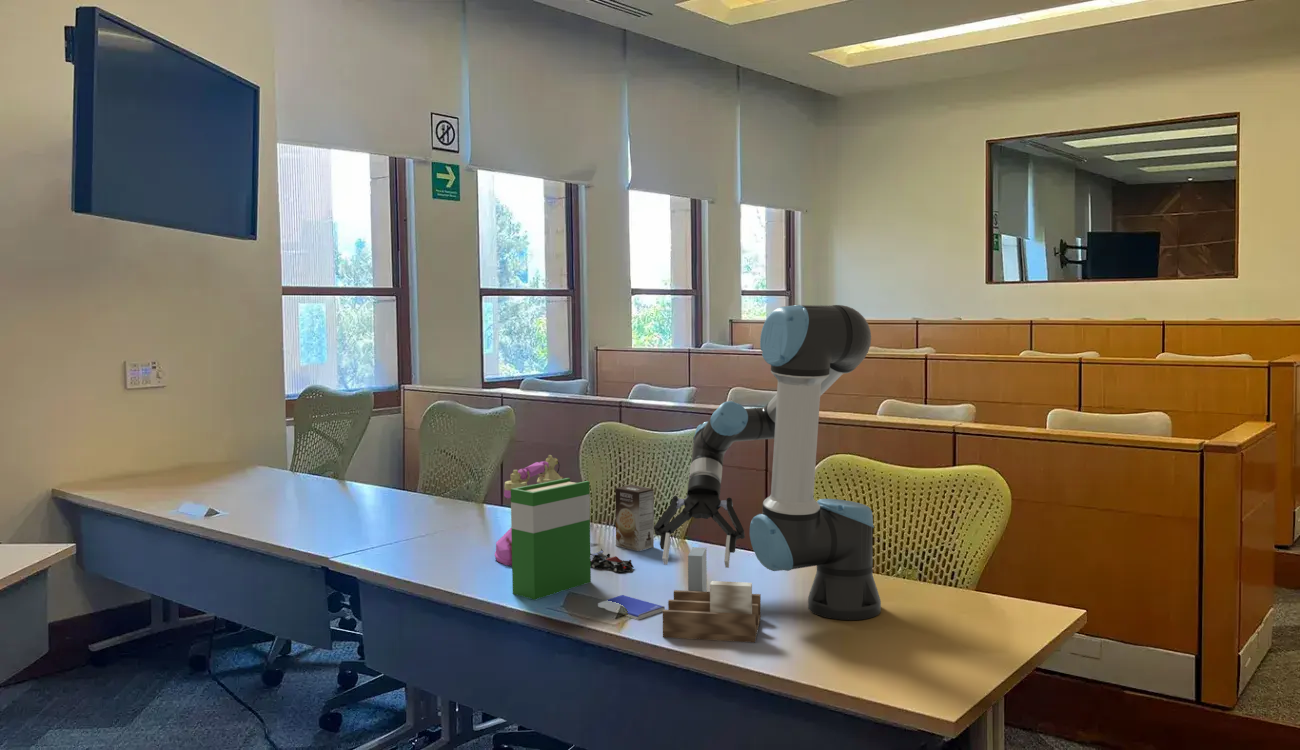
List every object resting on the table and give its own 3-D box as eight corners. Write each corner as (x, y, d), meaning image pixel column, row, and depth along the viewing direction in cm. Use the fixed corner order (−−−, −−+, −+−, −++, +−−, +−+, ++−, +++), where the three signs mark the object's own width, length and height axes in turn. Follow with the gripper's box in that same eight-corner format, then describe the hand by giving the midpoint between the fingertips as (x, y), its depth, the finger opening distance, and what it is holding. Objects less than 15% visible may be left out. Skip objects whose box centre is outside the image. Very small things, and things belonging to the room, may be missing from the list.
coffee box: (614, 546, 256) (613, 487, 255) (630, 541, 261) (630, 484, 260) (638, 551, 250) (638, 491, 249) (655, 547, 255) (654, 488, 254)
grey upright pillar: (706, 601, 207) (706, 547, 206) (702, 611, 200) (702, 556, 199) (693, 600, 208) (692, 547, 207) (688, 611, 201) (688, 555, 200)
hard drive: (664, 605, 201) (623, 594, 210) (638, 614, 195) (596, 602, 204) (664, 612, 201) (623, 601, 210) (638, 622, 195) (596, 609, 204)
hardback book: (568, 576, 227) (567, 477, 226) (590, 582, 223) (589, 481, 221) (512, 593, 214) (510, 488, 213) (534, 600, 209) (532, 492, 208)
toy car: (601, 563, 240) (600, 547, 240) (639, 570, 234) (639, 553, 233) (586, 568, 235) (586, 552, 235) (625, 576, 229) (625, 559, 228)
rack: (760, 619, 195) (760, 570, 194) (755, 642, 181) (754, 590, 181) (674, 614, 199) (674, 566, 198) (662, 637, 185) (662, 585, 184)
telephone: (549, 572, 231) (548, 471, 229) (468, 565, 238) (466, 467, 236) (603, 538, 264) (602, 450, 263) (530, 533, 272) (529, 447, 270)
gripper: (759, 492, 220) (753, 574, 206) (654, 489, 225) (642, 568, 211) (757, 474, 214) (751, 556, 201) (649, 471, 219) (636, 551, 206)
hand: (695, 563), depth 206 cm, fingers open, 13 cm apart
